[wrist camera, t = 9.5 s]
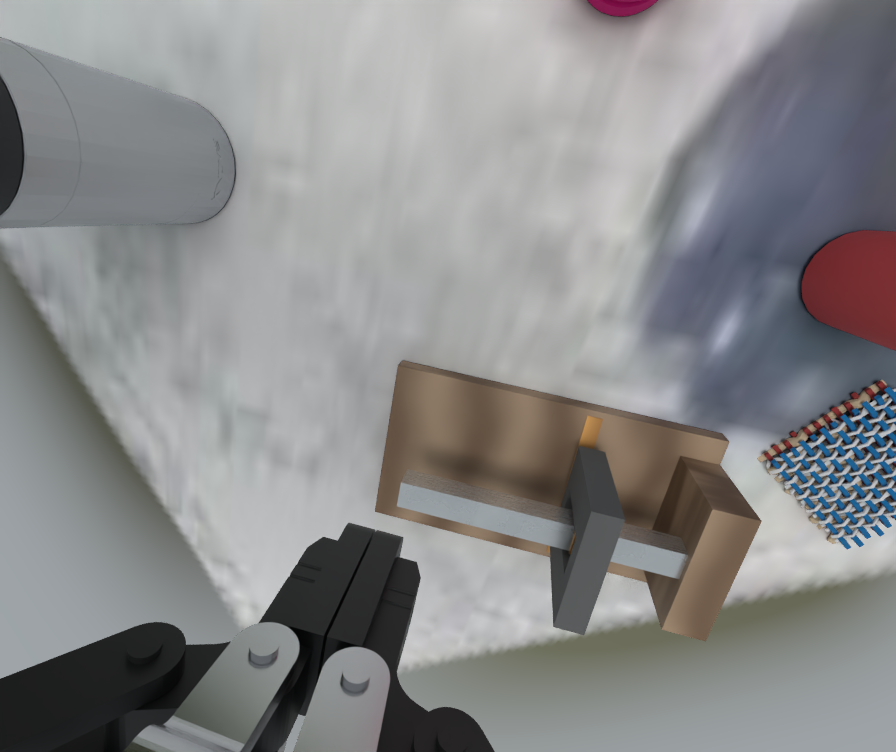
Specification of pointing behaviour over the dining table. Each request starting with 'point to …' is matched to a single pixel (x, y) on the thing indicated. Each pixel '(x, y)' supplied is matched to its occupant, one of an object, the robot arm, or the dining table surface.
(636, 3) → the pepper mill
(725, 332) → the dining table surface
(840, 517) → the woven mat
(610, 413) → the base board
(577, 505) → the dark grey block
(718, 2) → the dining table surface
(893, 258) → the beer can
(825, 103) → the dining table surface
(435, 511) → the light grey beam
